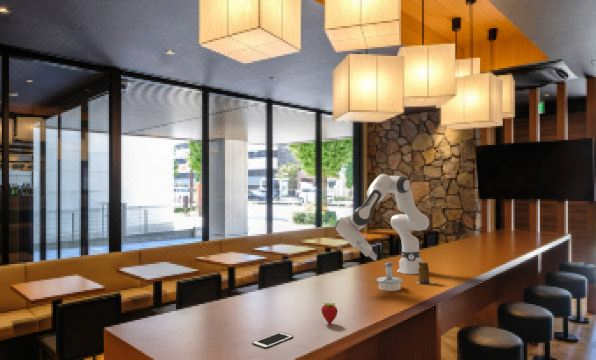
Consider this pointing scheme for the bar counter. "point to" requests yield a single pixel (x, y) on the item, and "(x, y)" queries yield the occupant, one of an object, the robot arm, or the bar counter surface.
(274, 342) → the cell phone
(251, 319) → the bar counter surface
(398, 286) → the bowl
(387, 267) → the lid
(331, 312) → the strawberry
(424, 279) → the condiment
